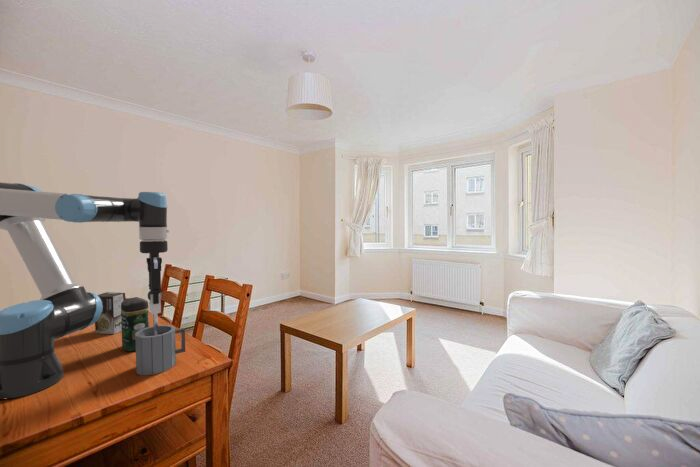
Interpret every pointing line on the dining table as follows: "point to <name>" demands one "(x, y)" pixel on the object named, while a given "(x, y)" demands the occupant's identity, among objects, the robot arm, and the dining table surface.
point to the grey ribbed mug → (157, 349)
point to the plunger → (155, 320)
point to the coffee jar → (133, 320)
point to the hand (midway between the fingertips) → (155, 311)
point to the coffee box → (110, 313)
